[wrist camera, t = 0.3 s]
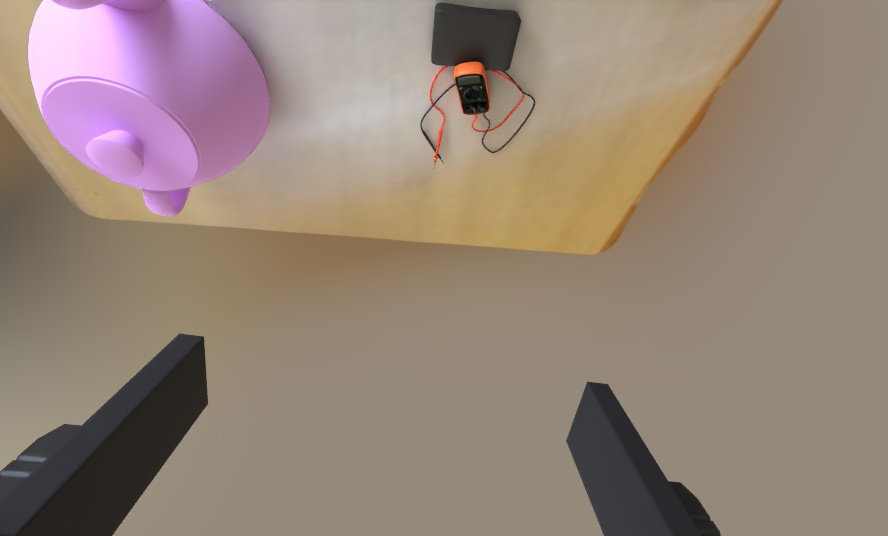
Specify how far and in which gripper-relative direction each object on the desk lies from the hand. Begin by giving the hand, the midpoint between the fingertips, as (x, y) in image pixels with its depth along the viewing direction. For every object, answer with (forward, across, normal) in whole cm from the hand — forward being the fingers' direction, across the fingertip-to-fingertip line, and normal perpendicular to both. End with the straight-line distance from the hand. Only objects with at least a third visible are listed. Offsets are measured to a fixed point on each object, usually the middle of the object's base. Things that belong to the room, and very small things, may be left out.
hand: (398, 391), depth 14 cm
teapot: (+32, -24, +9) cm, 42 cm away
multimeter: (+35, +5, +10) cm, 37 cm away
